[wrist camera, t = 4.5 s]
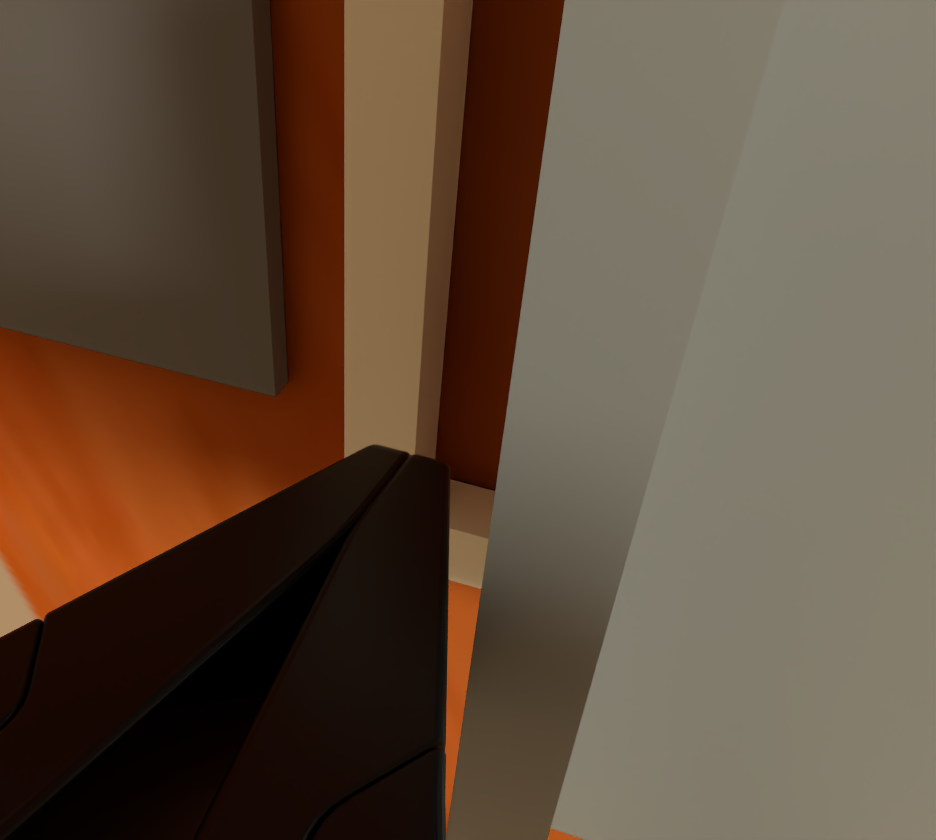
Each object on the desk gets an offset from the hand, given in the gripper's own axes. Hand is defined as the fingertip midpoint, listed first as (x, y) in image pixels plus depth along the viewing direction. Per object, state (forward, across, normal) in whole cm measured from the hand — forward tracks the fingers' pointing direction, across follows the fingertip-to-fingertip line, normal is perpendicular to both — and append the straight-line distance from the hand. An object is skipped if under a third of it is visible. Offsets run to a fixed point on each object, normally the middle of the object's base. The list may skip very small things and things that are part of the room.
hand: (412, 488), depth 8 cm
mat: (+8, +10, 0) cm, 12 cm away
